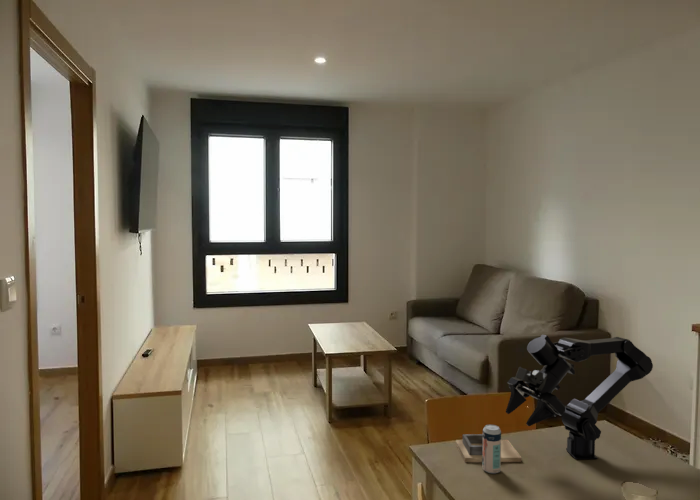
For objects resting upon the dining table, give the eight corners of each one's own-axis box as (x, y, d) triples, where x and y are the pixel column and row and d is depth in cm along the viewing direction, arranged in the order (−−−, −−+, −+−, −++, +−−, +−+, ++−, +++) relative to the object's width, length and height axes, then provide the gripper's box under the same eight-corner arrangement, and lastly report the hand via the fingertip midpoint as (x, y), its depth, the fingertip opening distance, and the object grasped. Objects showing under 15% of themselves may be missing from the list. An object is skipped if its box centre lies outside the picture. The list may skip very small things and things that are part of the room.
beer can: (486, 464, 144) (486, 422, 143) (503, 469, 141) (503, 426, 140) (479, 471, 140) (480, 428, 139) (496, 476, 137) (497, 432, 137)
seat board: (507, 443, 158) (507, 431, 157) (521, 461, 146) (521, 448, 145) (455, 444, 157) (455, 432, 157) (465, 462, 145) (465, 449, 145)
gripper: (513, 349, 152) (480, 390, 149) (557, 366, 134) (520, 412, 131) (535, 373, 155) (503, 413, 152) (581, 392, 137) (545, 438, 134)
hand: (516, 418), depth 142 cm, fingers open, 9 cm apart
